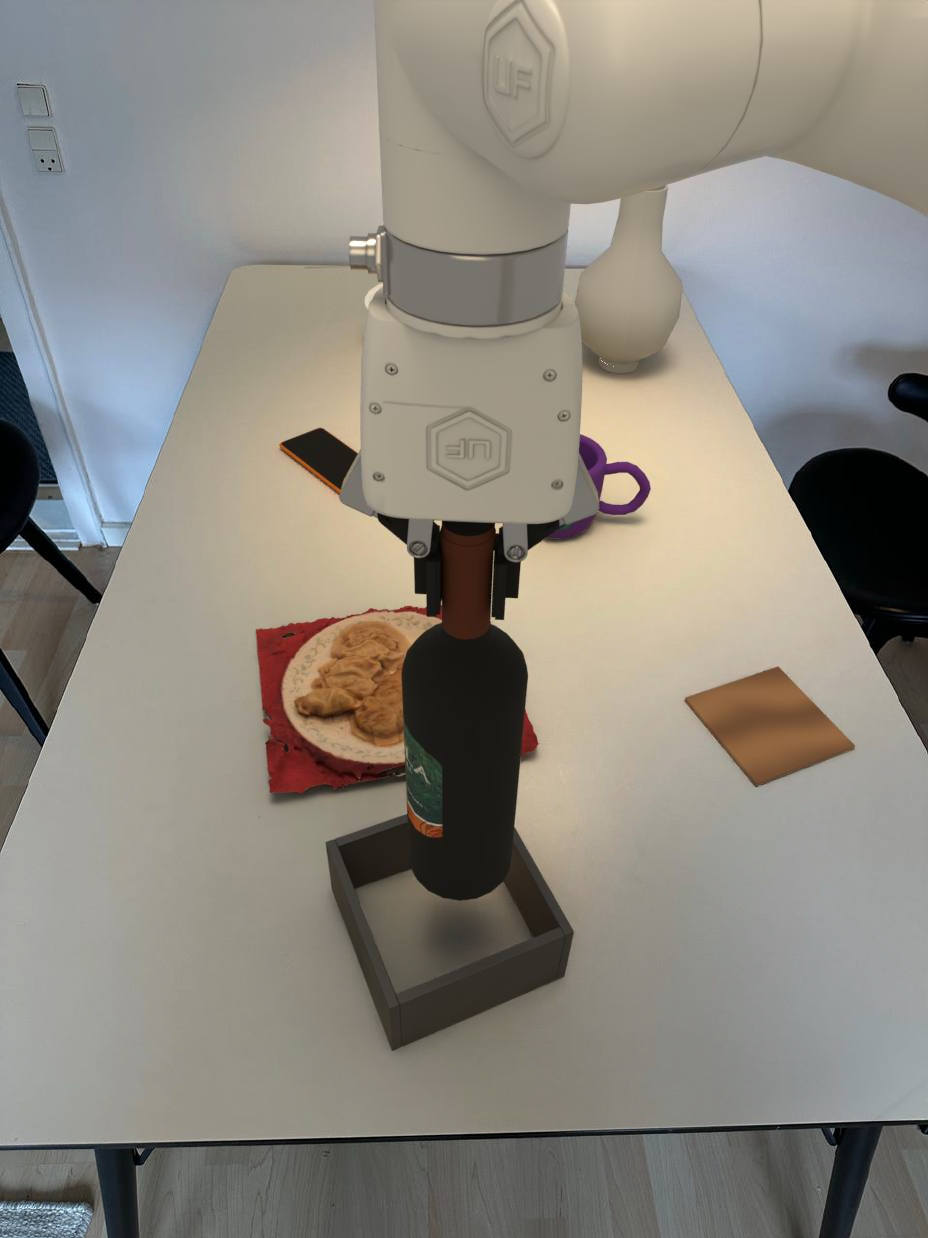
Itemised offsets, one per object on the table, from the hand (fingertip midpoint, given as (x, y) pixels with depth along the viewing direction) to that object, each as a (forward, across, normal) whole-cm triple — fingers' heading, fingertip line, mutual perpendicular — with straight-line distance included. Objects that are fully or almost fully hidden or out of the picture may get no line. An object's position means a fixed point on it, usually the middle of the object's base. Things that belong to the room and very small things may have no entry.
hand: (466, 599), depth 50 cm
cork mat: (+36, +30, +25) cm, 53 cm away
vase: (+35, +21, +103) cm, 111 cm away
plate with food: (+36, -9, +26) cm, 45 cm away
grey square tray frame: (+36, -1, 0) cm, 36 cm away
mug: (+36, +12, +58) cm, 69 cm away
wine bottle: (+25, 0, 0) cm, 25 cm away
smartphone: (+35, -21, +68) cm, 80 cm away
